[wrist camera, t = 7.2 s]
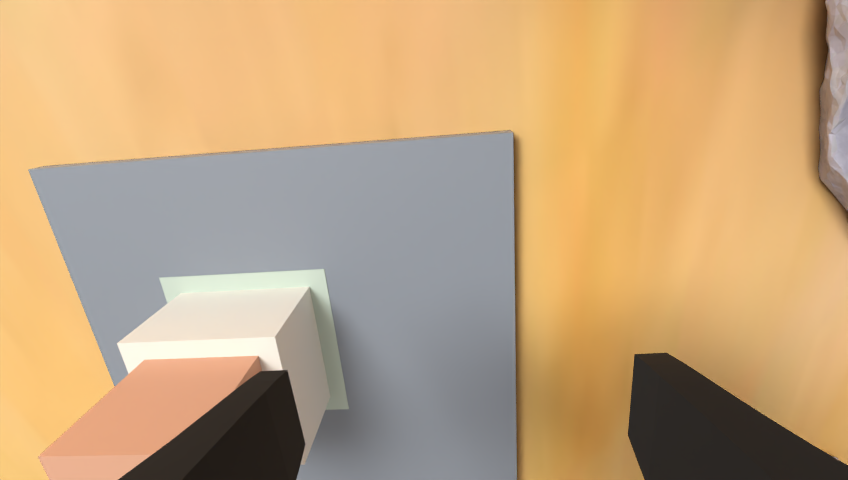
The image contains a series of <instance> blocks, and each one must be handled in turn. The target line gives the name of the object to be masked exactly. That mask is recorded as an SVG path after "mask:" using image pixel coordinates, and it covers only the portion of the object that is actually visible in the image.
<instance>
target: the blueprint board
mask: <svg viewBox="0 0 848 480" xmlns="http://www.w3.org/2000/svg"><path fill="white" fill-rule="evenodd" d="M29 173H30V175H31V178H32V180H33V183H34V185H35V188H36V190H37V193H38V195H39V198H40V200H41V203H42V205H43V208H44V210H45V213H46V215H47V218H48V220H49V223H50V225H51V228H52V230H53V233H54V235H55V238H56V241H57V243H58V246H59V248H60V251H61V253H62V256H63V258H64V261H65V263H66V266H67V268H68V271H69V273H70V276H71V278H72V281H73V283H74V286H75V288H76V291H77V293H78V296H79V298H80V301H81V303H82V306H83V308H84V311H85V313H86V316H87V318H88V321H89V323H90V326H91V328H92V331H93V333H94V336H95V338H96V341H97V343H98V346H99V348H100V351H101V353H102V356H103V358H104V361H105V363H106V366H107V368H108V371H109V373H110V376H111V378H112V381H113V383H114V386H116V385H117V384H118V383H119V382H120V381H121V380H123V379H124V378H125V377H126V376H127V375H128V371H127V368H126V366H125V363H124V361H123V358H122V355H121V353H120V350H119V348H118V345H117V343H118V342H119V341H120V340H122V339H123V338H124V337H126V336H127V335H128V334H129V333H131V332H132V331H133V330H134V329H136V328H137V327H138V326H140V325H141V324H142V323H143V322H145V321H146V320H147V319H148V318H150V317H151V316H152V315H154V314H155V313H156V312H157V311H159V310H160V309H161V308H162V307H164V306H165V305H166V304H168V303H169V302H170V301H171V300H173V299H174V298H175V297H176V296H178V295H179V294H180V293H192V292H212V291H232V290H252V289H272V288H292V287H309V288H310V293H311V298H312V303H313V309H314V314H315V319H316V324H317V329H318V335H319V340H320V345H321V350H322V355H323V361H324V366H325V371H326V376H327V381H328V387H329V392H330V399H329V402H328V404H327V407H326V410H325V412H324V415H323V417H322V420H321V423H320V425H319V428H318V431H317V433H316V436H315V439H314V441H313V444H312V446H311V449H310V452H309V454H308V457H307V460H306V462H305V465H300V468H299V472H298V476H297V479H296V480H517V445H516V349H515V252H514V156H513V132H512V131H511V130H507V131H494V132H481V133H468V134H455V135H442V136H429V137H416V138H403V139H390V140H377V141H364V142H351V143H338V144H325V145H312V146H299V147H286V148H273V149H260V150H247V151H234V152H221V153H208V154H195V155H182V156H169V157H157V158H144V159H131V160H118V161H105V162H92V163H79V164H66V165H53V166H43V167H38V168H34V169H29Z"/></svg>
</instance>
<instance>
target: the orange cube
mask: <svg viewBox="0 0 848 480" xmlns="http://www.w3.org/2000/svg"><path fill="white" fill-rule="evenodd" d="M260 371H262V368H261V364H260V360H259V356H235V357H207V358H179V359H151V360H143V361H142V362H141V363H140V364H139V365H138V366H137V367H136V368H135V369H134V370H132V371H131V372H130V373H129V374H128V375H127V376H126V377H125V378H124V379H123V380H121V381H120V382H119V383H118V384H117V385H116V386H115V387H114V388H113V389H112V390H110V391H109V392H108V393H107V394H106V395H105V396H104V397H103V398H102V399H101V400H99V401H98V402H97V403H96V404H95V405H94V406H93V407H92V408H91V409H90V410H88V411H87V412H86V413H85V414H84V415H83V416H82V417H81V418H80V419H79V420H78V421H76V422H75V423H74V424H73V425H72V426H71V427H70V428H69V429H68V430H67V431H65V432H64V433H63V434H62V435H61V436H60V437H59V438H58V439H57V440H56V441H54V442H53V443H52V444H51V445H50V446H49V447H48V448H47V449H46V450H45V451H43V452H42V453H41V454H40V455H39V456H38V458H39V460H40V462H41V464H42V466H43V468H44V470H45V472H46V474H47V476H48V478H49V480H118V479H120V478H121V477H122V476H124V475H125V474H126V473H128V472H129V471H130V470H132V469H133V468H134V467H136V466H137V465H138V464H140V463H141V462H143V461H144V460H145V459H147V458H148V457H149V456H151V455H152V454H153V453H155V452H156V451H157V450H159V449H160V448H162V447H163V446H164V445H166V444H167V443H168V442H170V441H171V440H172V439H173V438H175V437H176V436H177V435H179V434H180V433H181V432H182V431H184V430H185V429H186V428H187V427H189V426H190V425H191V424H193V423H194V422H195V421H196V420H198V419H199V418H200V417H201V416H203V415H204V414H205V413H207V412H208V411H209V410H210V409H212V408H213V407H214V406H215V405H217V404H218V403H219V402H220V401H222V400H223V399H224V398H225V397H227V396H228V395H229V394H230V393H232V392H233V391H234V390H236V389H237V388H238V387H239V386H241V385H242V384H243V383H245V382H246V381H247V380H249V379H250V378H251V377H253V376H254V375H256V374H257V373H258V372H260Z"/></svg>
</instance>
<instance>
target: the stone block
mask: <svg viewBox="0 0 848 480" xmlns="http://www.w3.org/2000/svg"><path fill="white" fill-rule="evenodd" d="M825 4H826V8H827V12H828V13H827V28H826V41H827V45H828V48H829V49H828V55H827V59H826V64H825V73H824V80H823V82H822V85H821V88H820V90H819V92H820V107H821V116H820V124H819V135H820V137H819V138H820V159H819V165H818V170H819V178H820V179H821V181H822V182H823V183H824V184H825V185H826V186H827V187H828V189H829V190H830V191H831V192H832V193H833V194H834V195H835V197H836V198H837V199H838V201H839V202H840V203H841V204H842V206H843V207H844V208H845V209H846V210H847V211H848V0H826V2H825Z"/></svg>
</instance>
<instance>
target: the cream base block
mask: <svg viewBox="0 0 848 480" xmlns="http://www.w3.org/2000/svg"><path fill="white" fill-rule="evenodd" d="M117 345H118V348H119V350H120V353H121V355H122V358H123V361H124V363H125V366H126V368H127V371H128V374H129V373H130V372H131V371H132V370H134V369H135V368H136V367H137V366H138V365H139V364H140V363H141V362H142V361H143V360H151V359H179V358H207V357H235V356H259V360H260V364H261V368H262V371H275V370H288V374H289V378H290V382H291V386H292V391H293V395H294V399H295V403H296V407H297V411H298V415H299V419H300V423H301V428H302V432H303V436H304V440H305V448H304V452H303V456H302V460H301V464H300V465H305V462H306V460H307V457H308V454H309V452H310V449H311V446H312V444H313V441H314V439H315V436H316V433H317V431H318V428H319V425H320V423H321V420H322V417H323V415H324V412H325V410H326V407H327V404H328V402H329V399H330V392H329V387H328V381H327V376H326V371H325V366H324V361H323V355H322V350H321V345H320V340H319V335H318V329H317V324H316V319H315V314H314V309H313V303H312V298H311V293H310V288H309V287H292V288H272V289H252V290H232V291H212V292H192V293H180V294H179V295H178V296H176V297H175V298H174V299H173V300H171V301H170V302H169V303H168V304H166V305H165V306H164V307H162V308H161V309H160V310H159V311H157V312H156V313H155V314H154V315H152V316H151V317H150V318H148V319H147V320H146V321H145V322H143V323H142V324H141V325H140V326H138V327H137V328H136V329H134V330H133V331H132V332H131V333H129V334H128V335H127V336H126V337H124V338H123V339H122V340H120V341H119V342H118V343H117Z"/></svg>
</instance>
